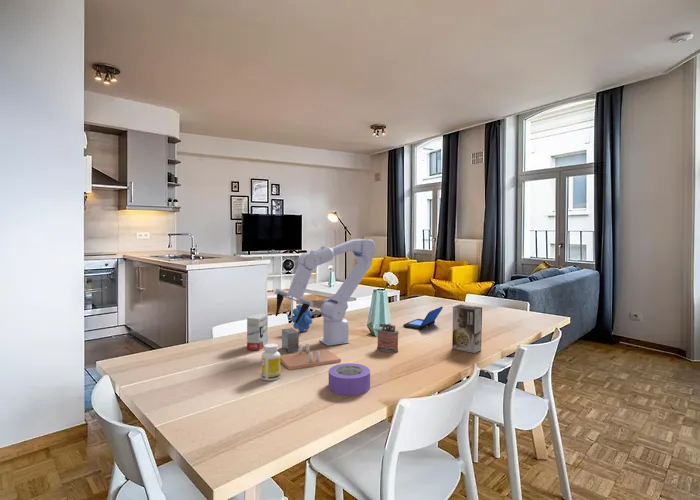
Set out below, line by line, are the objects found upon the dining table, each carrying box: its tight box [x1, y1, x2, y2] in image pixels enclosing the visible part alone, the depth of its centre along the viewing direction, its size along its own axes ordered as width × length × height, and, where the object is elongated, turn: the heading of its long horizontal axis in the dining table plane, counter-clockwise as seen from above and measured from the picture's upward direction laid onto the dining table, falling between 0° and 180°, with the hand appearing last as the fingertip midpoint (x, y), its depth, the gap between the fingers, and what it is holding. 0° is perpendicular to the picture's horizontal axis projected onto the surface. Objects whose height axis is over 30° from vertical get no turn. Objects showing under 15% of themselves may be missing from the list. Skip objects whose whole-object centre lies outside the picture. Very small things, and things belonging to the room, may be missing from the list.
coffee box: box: [451, 304, 483, 354], centre depth 149 cm, size 9×6×16 cm
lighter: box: [376, 322, 400, 354], centre depth 146 cm, size 8×3×10 cm, turn 65°
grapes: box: [291, 304, 313, 333], centre depth 170 cm, size 12×7×12 cm, turn 139°
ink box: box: [246, 313, 269, 351], centre depth 148 cm, size 9×5×12 cm, turn 168°
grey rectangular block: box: [281, 327, 300, 354], centre depth 146 cm, size 4×7×7 cm, turn 27°
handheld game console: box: [403, 306, 444, 331], centre depth 184 cm, size 16×13×9 cm
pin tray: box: [280, 343, 342, 371], centre depth 134 cm, size 18×12×4 cm, turn 117°
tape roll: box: [328, 362, 371, 397], centre depth 112 cm, size 12×12×5 cm
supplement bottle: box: [261, 343, 281, 382], centre depth 118 cm, size 5×5×10 cm
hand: (286, 319), depth 145 cm, fingers open, 7 cm apart
